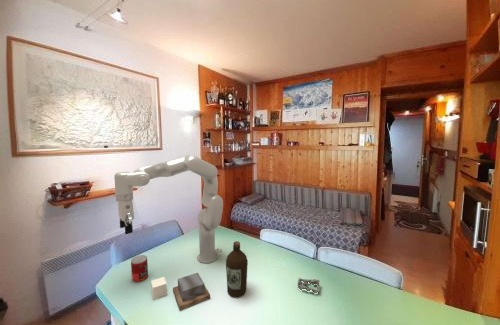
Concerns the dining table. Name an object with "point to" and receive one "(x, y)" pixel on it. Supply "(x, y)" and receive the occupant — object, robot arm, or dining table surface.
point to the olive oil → (236, 272)
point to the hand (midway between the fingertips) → (126, 230)
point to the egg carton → (307, 284)
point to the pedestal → (190, 291)
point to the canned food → (139, 268)
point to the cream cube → (159, 288)
